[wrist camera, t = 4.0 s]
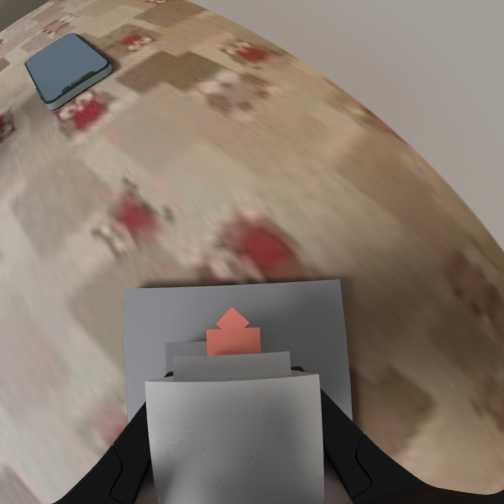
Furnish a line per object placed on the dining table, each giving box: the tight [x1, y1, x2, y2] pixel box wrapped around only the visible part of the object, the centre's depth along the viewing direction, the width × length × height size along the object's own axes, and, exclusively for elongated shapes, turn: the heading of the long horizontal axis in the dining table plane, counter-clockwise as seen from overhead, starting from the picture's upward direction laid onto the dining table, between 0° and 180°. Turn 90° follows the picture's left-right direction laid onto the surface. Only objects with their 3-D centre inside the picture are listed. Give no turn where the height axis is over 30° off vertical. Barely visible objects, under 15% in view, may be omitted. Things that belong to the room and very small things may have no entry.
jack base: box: [124, 279, 352, 423], centre depth 13 cm, size 12×12×6 cm
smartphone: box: [25, 33, 112, 110], centre depth 25 cm, size 8×2×15 cm
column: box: [145, 351, 324, 504], centre depth 10 cm, size 4×3×10 cm
